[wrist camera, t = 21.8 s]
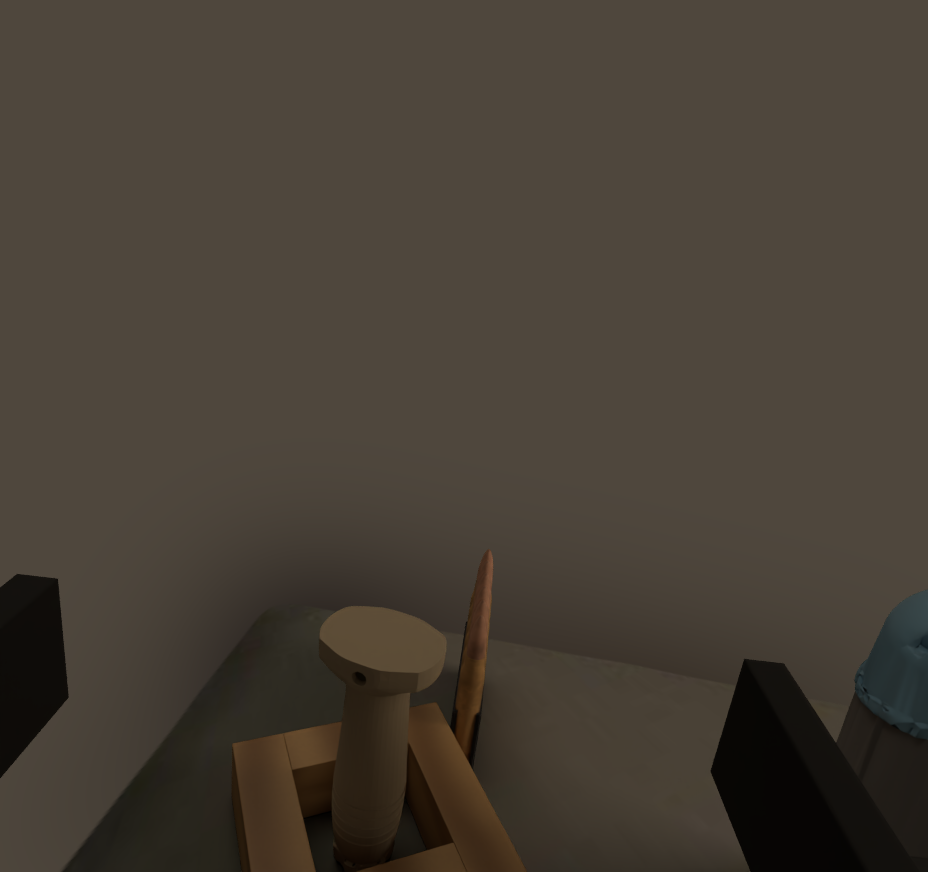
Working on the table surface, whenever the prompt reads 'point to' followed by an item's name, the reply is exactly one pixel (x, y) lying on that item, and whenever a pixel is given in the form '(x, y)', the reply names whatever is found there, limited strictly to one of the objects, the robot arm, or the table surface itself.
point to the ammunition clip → (473, 663)
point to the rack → (310, 793)
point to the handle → (374, 722)
